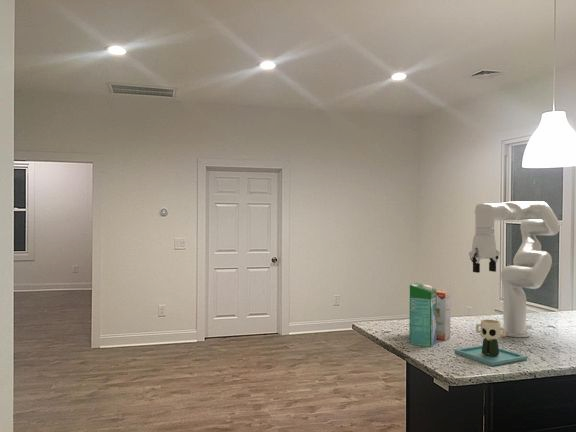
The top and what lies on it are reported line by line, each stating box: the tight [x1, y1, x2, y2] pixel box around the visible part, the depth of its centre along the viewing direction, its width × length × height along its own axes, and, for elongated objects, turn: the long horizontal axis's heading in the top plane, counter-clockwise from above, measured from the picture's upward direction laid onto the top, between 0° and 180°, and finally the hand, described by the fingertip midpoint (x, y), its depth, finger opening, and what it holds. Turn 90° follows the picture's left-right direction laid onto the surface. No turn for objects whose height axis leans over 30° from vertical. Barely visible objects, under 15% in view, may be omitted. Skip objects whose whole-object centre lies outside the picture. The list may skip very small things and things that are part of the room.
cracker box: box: [436, 290, 451, 341], centre depth 207 cm, size 14×6×21 cm, turn 47°
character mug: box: [475, 318, 506, 356], centre depth 178 cm, size 11×7×13 cm, turn 50°
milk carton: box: [408, 282, 437, 348], centre depth 197 cm, size 9×9×25 cm
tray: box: [454, 344, 528, 367], centre depth 178 cm, size 18×18×2 cm
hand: (484, 271), depth 199 cm, fingers open, 9 cm apart
